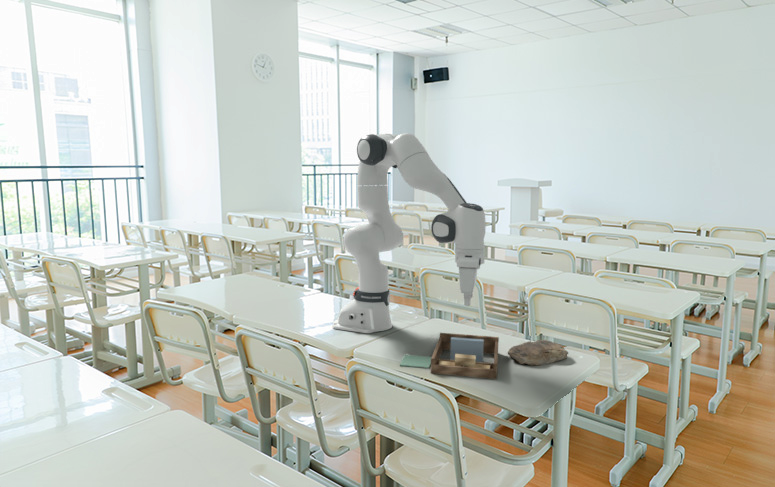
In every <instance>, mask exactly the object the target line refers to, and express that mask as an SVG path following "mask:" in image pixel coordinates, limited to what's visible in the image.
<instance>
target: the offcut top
mask: <svg viewBox="0 0 775 487" xmlns="http://www.w3.org/2000/svg"><path fill="white" fill-rule="evenodd" d="M475 362H476V355H465V354H455V365H456V366H468V367H475Z"/></svg>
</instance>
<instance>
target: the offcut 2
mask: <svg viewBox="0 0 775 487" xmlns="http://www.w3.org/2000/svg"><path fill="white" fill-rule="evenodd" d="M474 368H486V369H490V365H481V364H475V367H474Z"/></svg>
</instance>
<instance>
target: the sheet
mask: <svg viewBox="0 0 775 487" xmlns="http://www.w3.org/2000/svg"><path fill="white" fill-rule="evenodd" d="M483 345H484V340H483V339H470V338H457V337H451V351H450V355H449V357H450V359H449V360H455V354H465V355H476V362H483V363H484V353H483Z"/></svg>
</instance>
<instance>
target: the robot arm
mask: <svg viewBox="0 0 775 487" xmlns="http://www.w3.org/2000/svg"><path fill="white" fill-rule="evenodd" d="M356 154H357V157H358V160H359V162H358V167H357V168H358V169H357V177H356V178H357V180H356V181H357V184H356V185H357V186H356V187H357V206H358V208H359V210H360V211H361V212H363V213H364V214H365V216H366V217H367V222H368V223H365V224H358V225H355V226H352V227H350V228H348V229H346V230H345V232H344V234H343V246H344V248H345V250H346V252H348V253H349V254H350V255H351V256H352V257H353V259H354V261H355V264H356V267H357V270H358V271H357V273H358V287H356V288H355V290H353V292H352V296H353V299H352V300H350V301H349V302H347V303H346V304H345V305H343V307H341V309H340V311H339V314H338V318H336V319H335V320H334V321H333V322H332V328H333V329H335V330H342V331H347V332H348V331H350V332H353V333H354V332H355V333H356V332H357V333H361V334H362V333H363V334H372V333H376V332H383V331H387V330H390V329H392V328H393V323H392V319H391V314H390V302H391V299H390V298H391V292H390V289H389V269H388V267H387V266H386V265H385V264H384V263H382V262H381V259H380V253H384V252H390V251H392V250H394V249H396V248H399V247H400V246H401V244H402V243H403V240H404V235H403V234H404V233H403V230H402V228H401V226H400V225H398V224H397V223H396V222H395V220H394V218H393V216H392V213H391V211H390V210H391V209H390V206H389V194H388V193H389V190H388V172H389V170H390V168H391V167H392V168H393V169H398V172H399V173H400V175H401V177H402V179H403V180H404V182H406V184H407V185H408V186H410V188H414V189H415V190H419V191H423V192H426V193H430V194H432V195H435V196H436V197H438V198H439V199H440V200H441V201H442V202H443V203H444V205H445V207H446V208H447V210H448V211H446V212H442V213H439V214H437V215H436V216H435V217H434V218H433V219H432V222H431V225H430V227H431V228H430V230H431V235H432V237H433V238H434V239H435V240H436V242H437V243H439V244H445V245H447V244H455V249H454V250H455V251H454V252H455V255H454V257H455V258H454V262H455V263H456V267H457V268H458V277H459V278H458V280H459V290H460V293H461V294H463V300H464V301H463V302H464V304H463V305H464V306H466V307H468V306H471V299H472V298H473V297H474V296H473V293H474V289H475V287H476V283H477V279H478V270H480V269H481V266H482V265H484V264H485V256H486V255H485V250H486V246H485V240H484V239H485V236H486V227H487V226H486V214H485V210H484V208H483V207H482V206H481V205H479V204H476V203H470V202H467V201H466V200H465V198H464V197H463V195H462V194H461V193H460V191H459V190H458V188H457V187H456V186H455V184H454V183H453V182H452V181H451V179H450V178H449V177H448V176H447V175H446V174H445V173H444V172H442V171H441V169H439V167H438V166H437V165H436V164H435V162H434V161H433V159H432V158H431V156H430V155H429V153H428V151H427V150H426V148H425V147H424V145H423V144H422V143H421V142H420V140H419V139H418V138H417V137H416V135H414V134H412V133H410V132H404V133H401V134H392V133H384V134H382V133H381V134H379V133H378V134H374V133H373V134H372V133H371V134H366V135H363V136H362V137H361V138H360V139H359V141H358V143H357V146H356Z"/></svg>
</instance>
